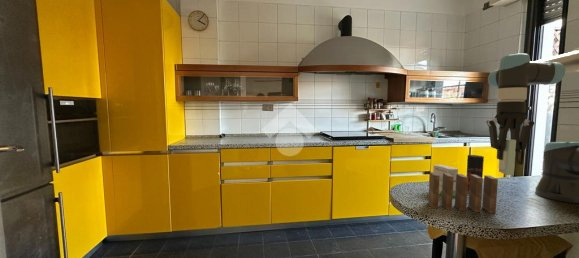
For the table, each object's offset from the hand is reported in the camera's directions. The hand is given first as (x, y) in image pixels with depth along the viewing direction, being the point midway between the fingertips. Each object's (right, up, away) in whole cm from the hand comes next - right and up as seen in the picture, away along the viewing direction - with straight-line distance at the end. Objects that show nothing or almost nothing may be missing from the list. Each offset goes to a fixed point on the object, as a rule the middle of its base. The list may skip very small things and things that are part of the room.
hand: (506, 169), depth 88 cm
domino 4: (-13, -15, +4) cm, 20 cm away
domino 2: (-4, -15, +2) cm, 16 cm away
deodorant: (+9, -13, +28) cm, 32 cm away
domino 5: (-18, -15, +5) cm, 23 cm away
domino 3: (-9, -15, +3) cm, 18 cm away
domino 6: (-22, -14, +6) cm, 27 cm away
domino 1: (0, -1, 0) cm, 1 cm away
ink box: (-10, -14, +20) cm, 26 cm away
